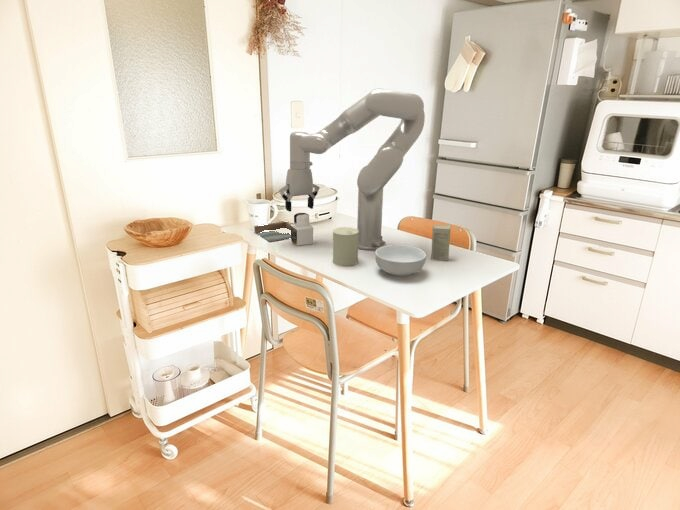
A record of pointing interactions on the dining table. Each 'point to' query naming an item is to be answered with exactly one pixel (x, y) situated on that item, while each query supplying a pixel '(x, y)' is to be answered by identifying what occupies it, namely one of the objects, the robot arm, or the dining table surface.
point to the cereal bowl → (400, 259)
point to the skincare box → (440, 242)
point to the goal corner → (273, 235)
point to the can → (345, 246)
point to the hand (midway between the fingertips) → (299, 209)
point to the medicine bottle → (301, 230)
